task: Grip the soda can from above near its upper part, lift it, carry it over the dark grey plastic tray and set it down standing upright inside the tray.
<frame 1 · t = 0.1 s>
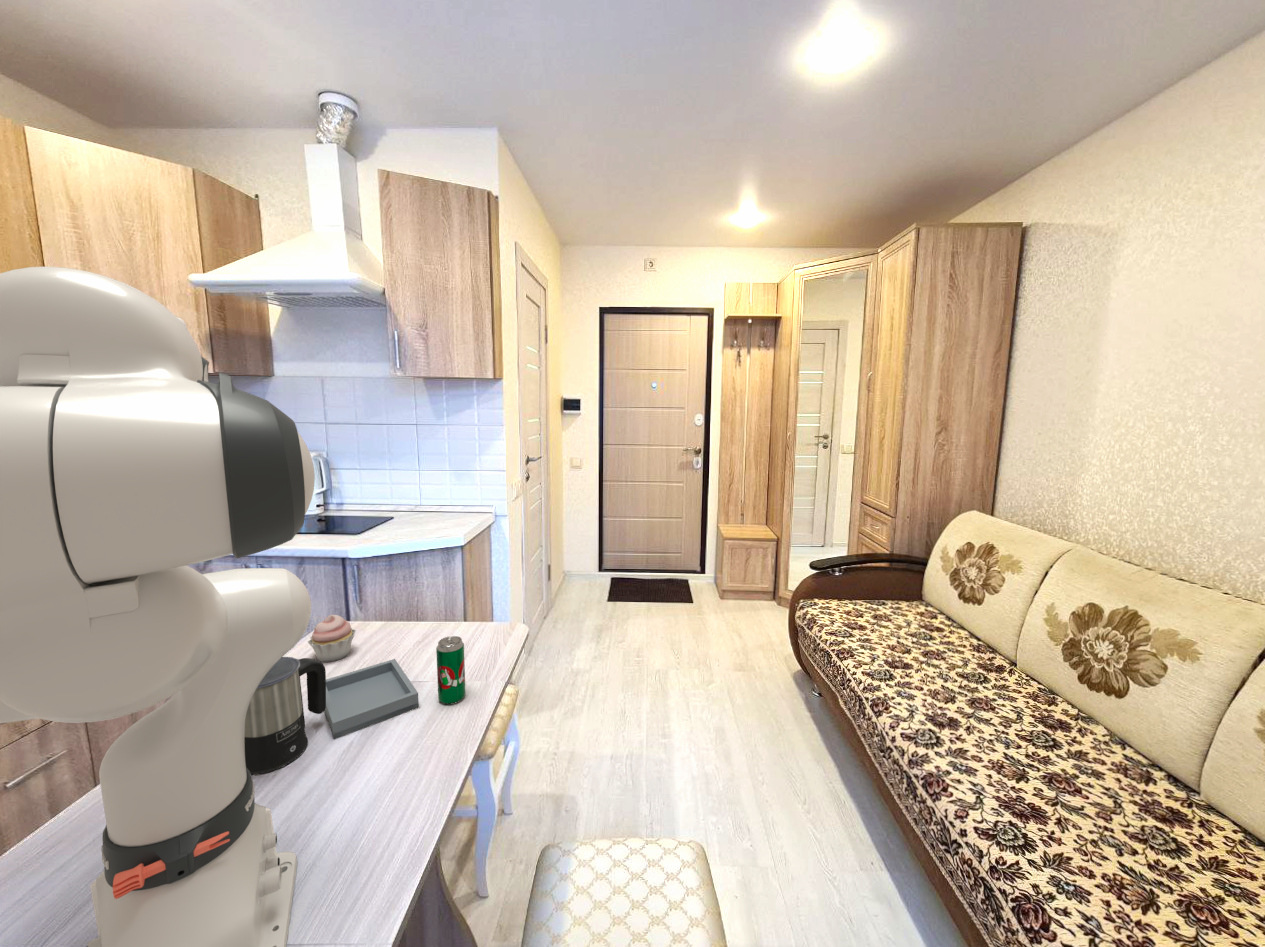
hand: (172, 536, 66), 39 cm above the table, tool pointing down, fingers open, 8 cm apart
soda can: (452, 698, 95), on the table
cupcake: (333, 656, 110), on the table
milk frother: (265, 745, 81), on the table
tray: (368, 701, 93), on the table
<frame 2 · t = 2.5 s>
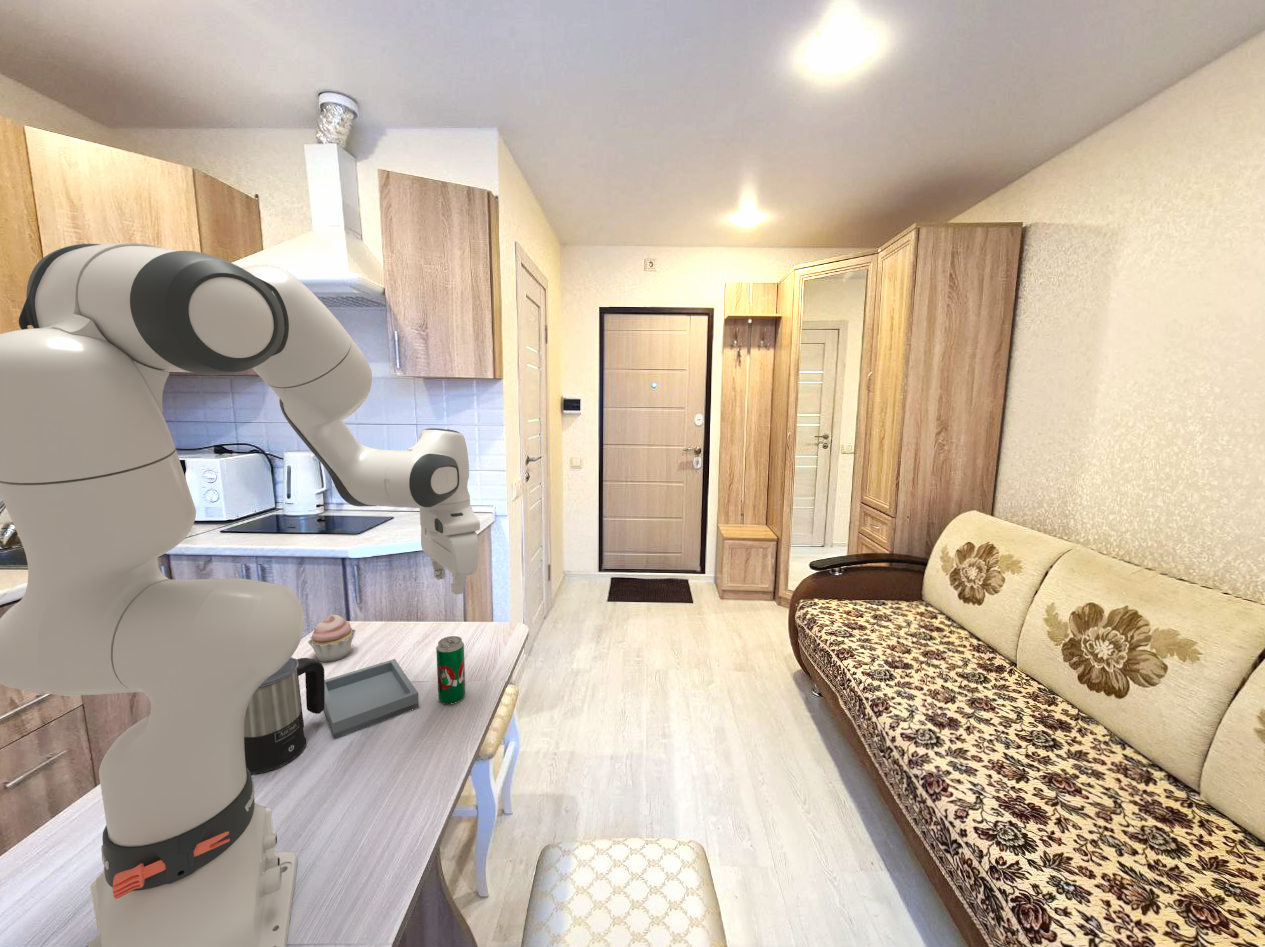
hand: (448, 585, 91), 23 cm above the table, tool pointing down, fingers open, 8 cm apart
nothing on the table moved.
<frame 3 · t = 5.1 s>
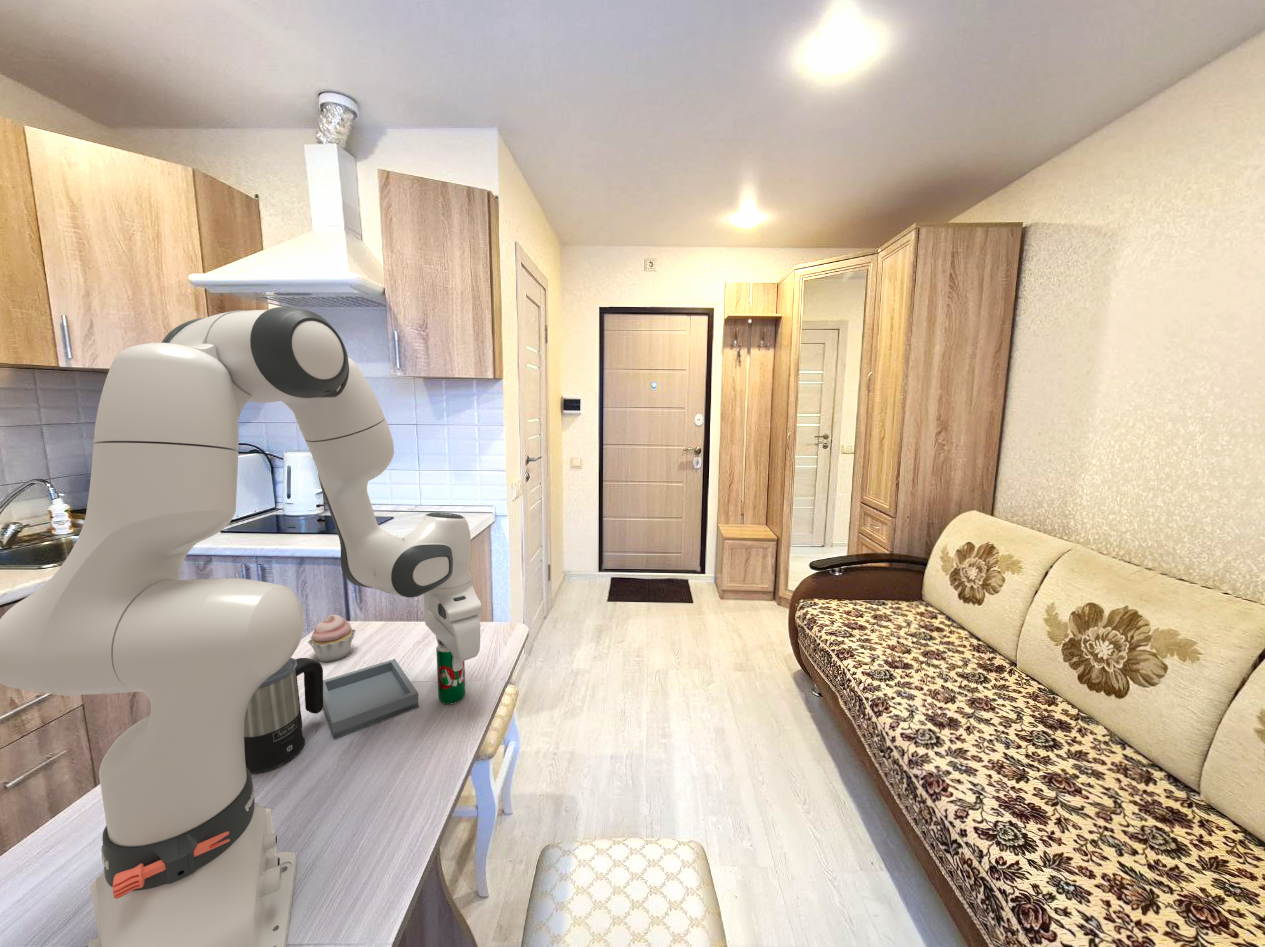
hand: (450, 662, 93), 8 cm above the table, tool pointing down, fingers closed on soda can, 5 cm apart
soda can: (452, 698, 95), on the table, touching gripper
everything else where it was.
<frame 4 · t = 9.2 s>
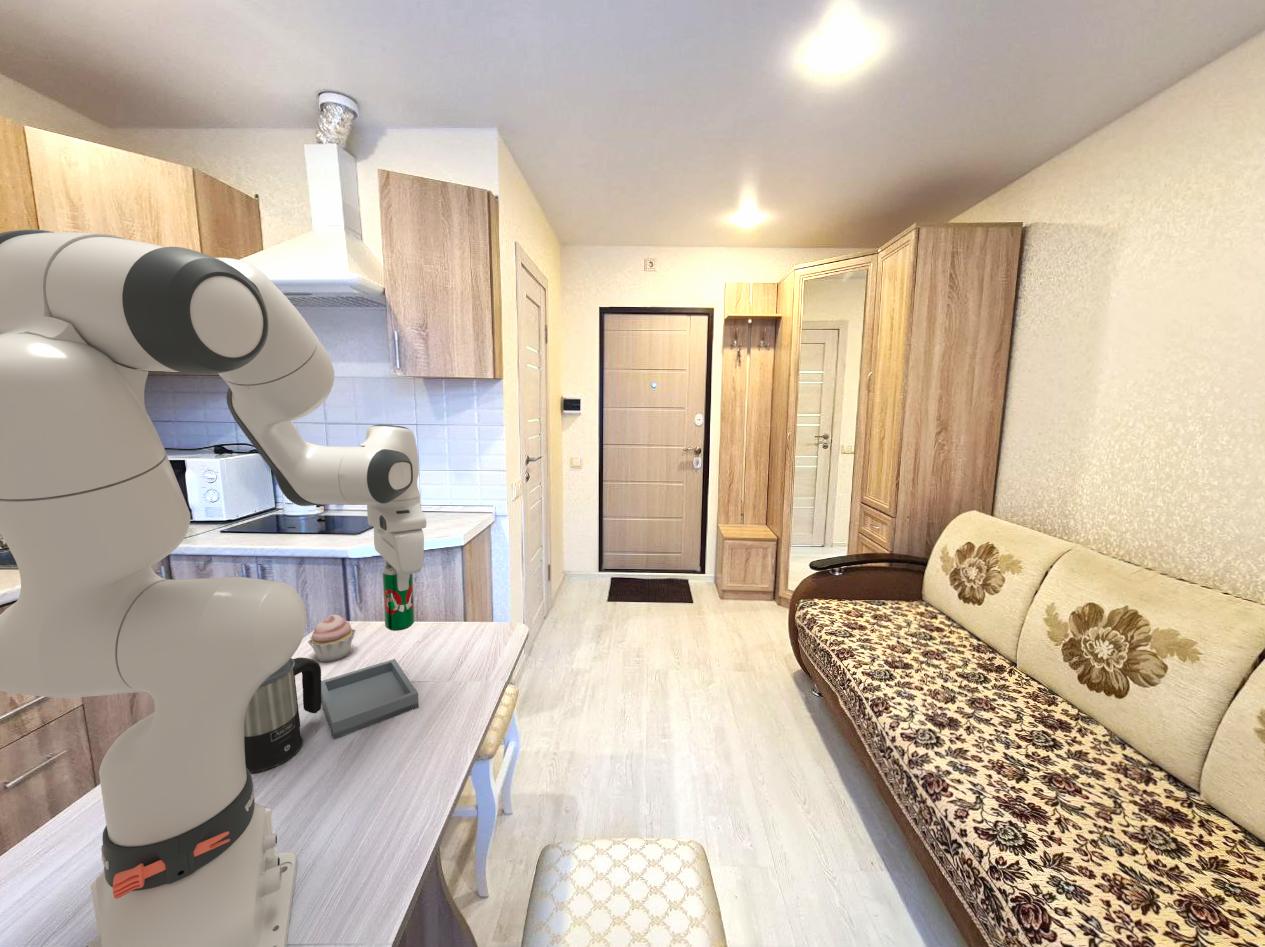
hand: (397, 584, 90), 24 cm above the table, tool pointing down, fingers closed on soda can, 5 cm apart
soda can: (400, 627, 91), point 15 cm above the table, touching gripper
everything else where it was.
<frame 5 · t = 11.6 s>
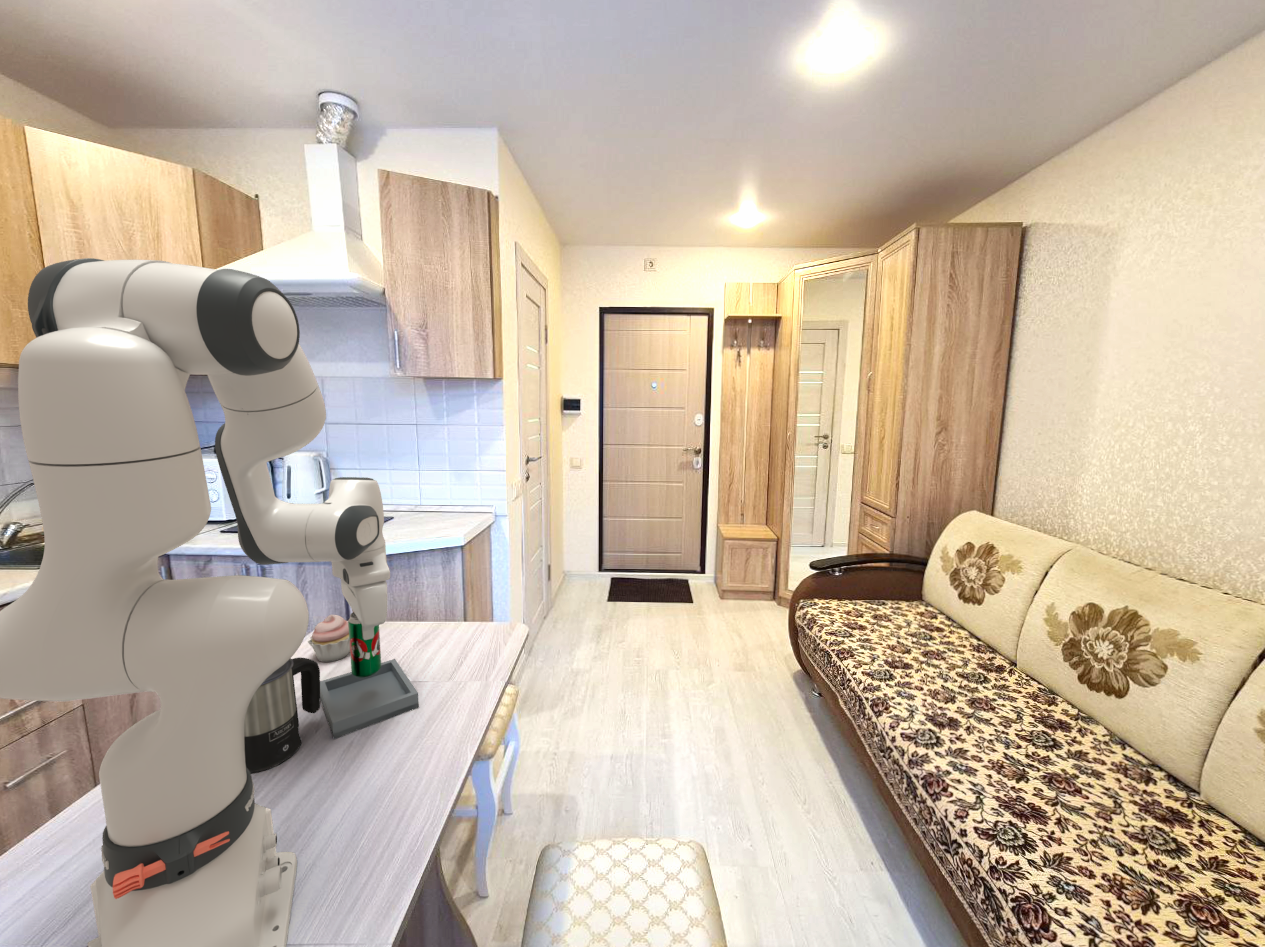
hand: (364, 631, 91), 14 cm above the table, tool pointing down, fingers closed on soda can, 5 cm apart
soda can: (366, 672, 92), point 6 cm above the table, touching gripper
when the fingers open (10 cm above the table, at t = 13.4 s): soda can stays where it is, resting on tray.
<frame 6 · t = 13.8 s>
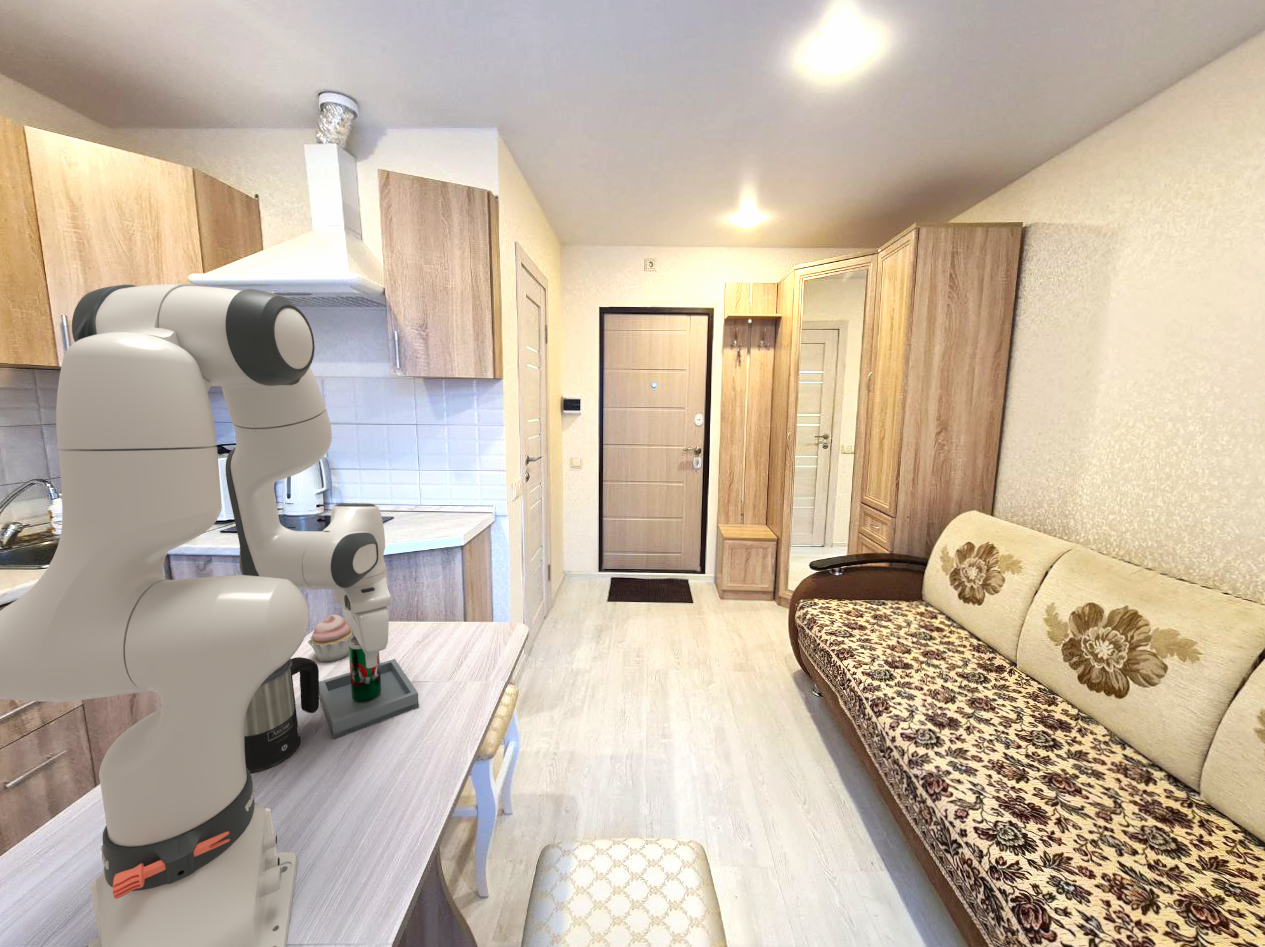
hand: (365, 655, 91), 10 cm above the table, tool pointing down, fingers open, 8 cm apart
soda can: (366, 696, 93), point 1 cm above the table, touching tray
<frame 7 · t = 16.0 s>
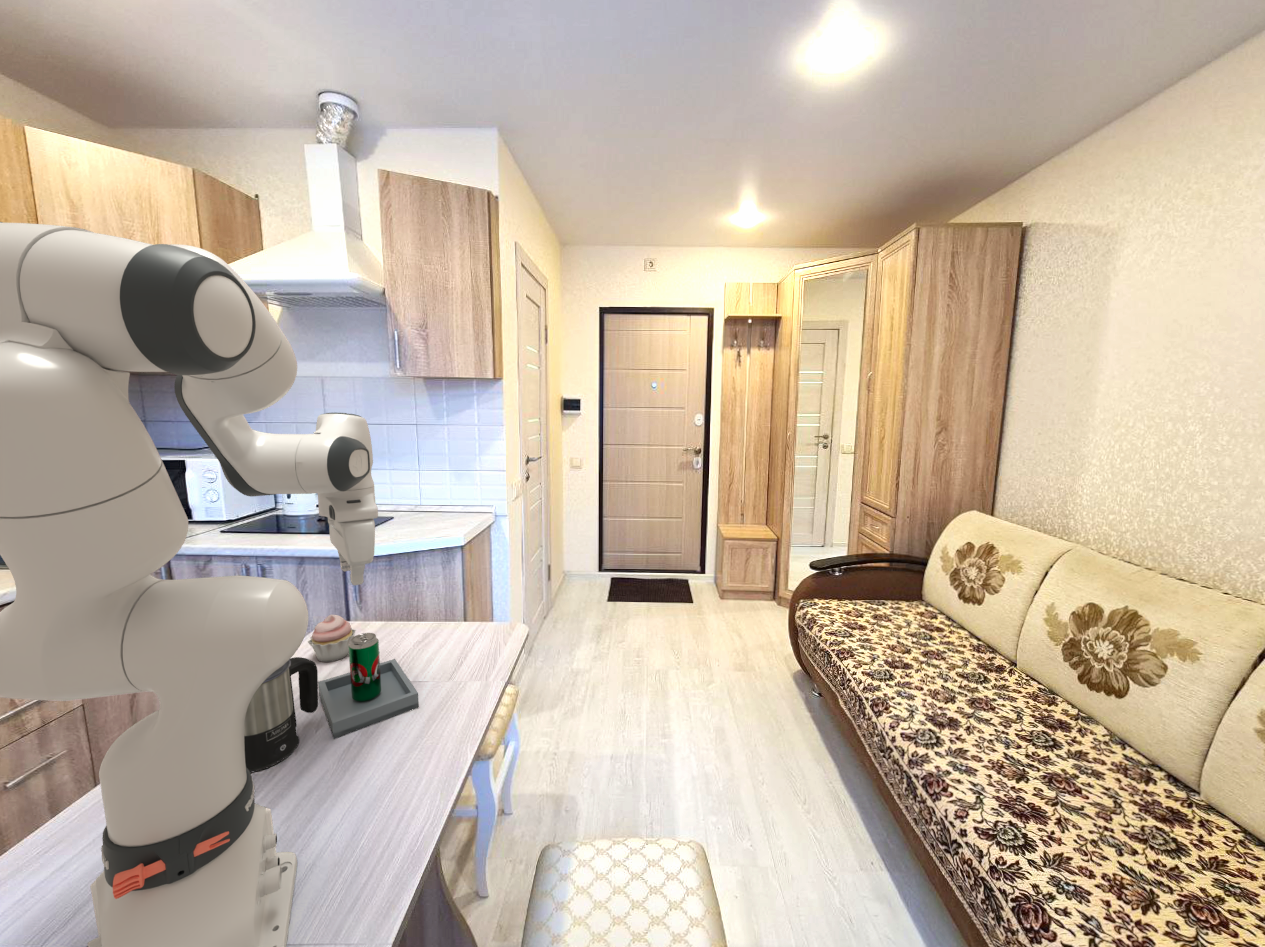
hand: (351, 576, 88), 26 cm above the table, tool pointing down, fingers open, 8 cm apart
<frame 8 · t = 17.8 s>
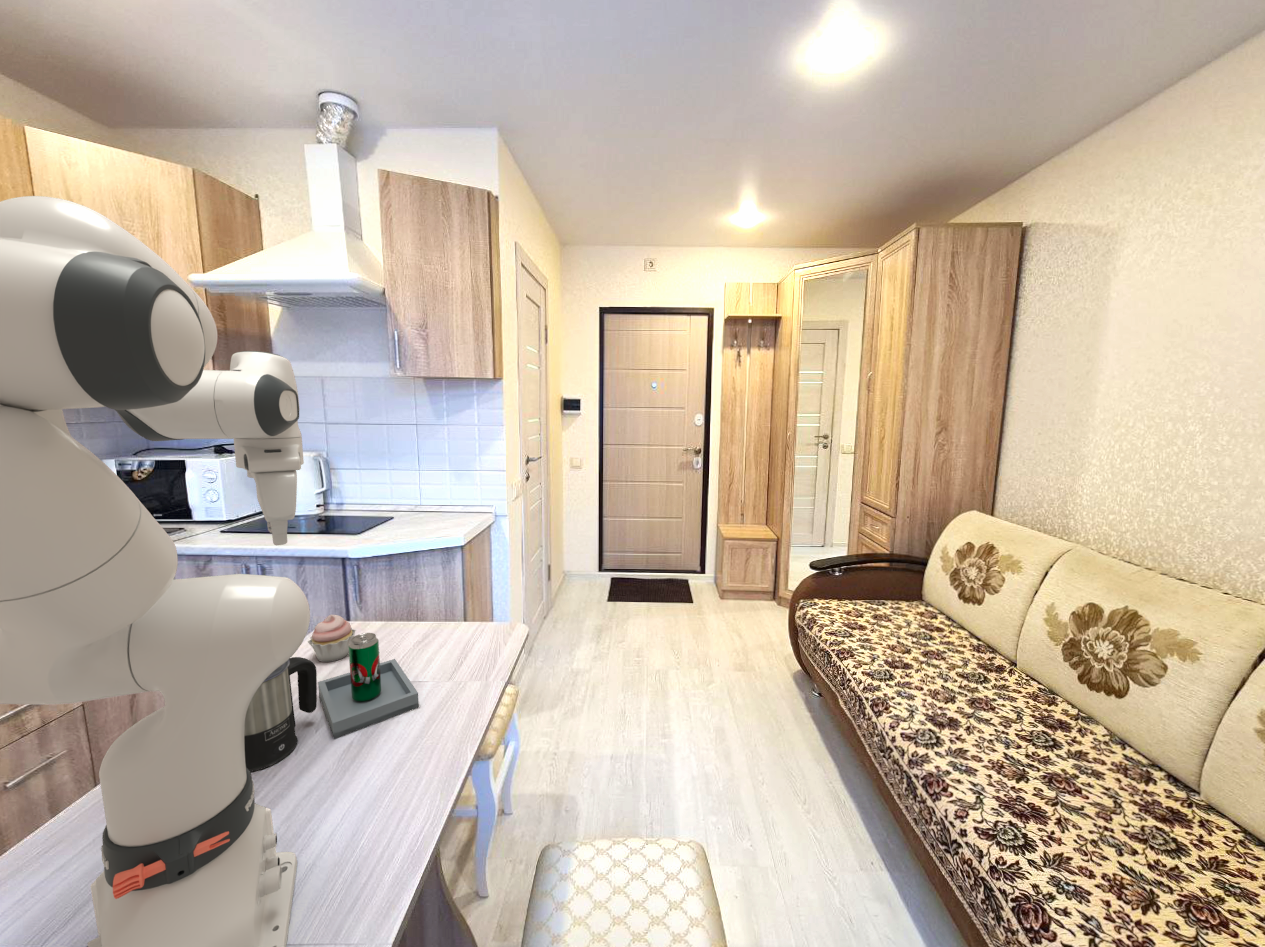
hand: (277, 537, 80), 35 cm above the table, tool pointing down, fingers open, 8 cm apart
at the end: soda can inside the target area on the tray (0.6 cm from its centre), point 0.8 cm above the tray's base; soda can tilted 0°; the gripper is holding nothing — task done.
